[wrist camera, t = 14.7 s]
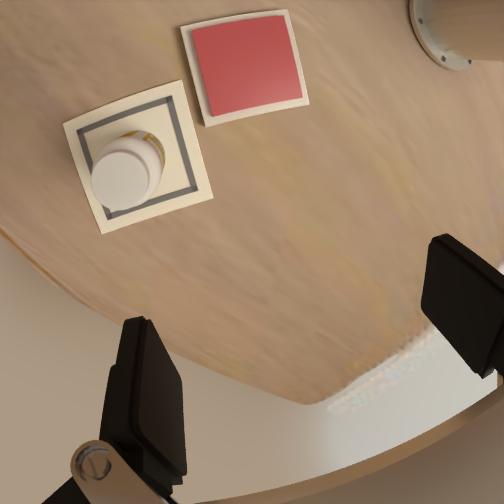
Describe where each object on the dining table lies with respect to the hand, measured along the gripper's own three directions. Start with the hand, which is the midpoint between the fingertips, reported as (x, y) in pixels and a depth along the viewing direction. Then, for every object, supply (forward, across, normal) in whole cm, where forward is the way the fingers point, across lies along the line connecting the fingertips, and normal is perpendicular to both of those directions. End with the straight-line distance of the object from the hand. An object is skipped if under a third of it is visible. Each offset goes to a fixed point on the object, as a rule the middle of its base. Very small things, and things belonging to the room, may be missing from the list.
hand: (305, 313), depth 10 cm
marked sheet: (+23, +8, -3) cm, 24 cm away
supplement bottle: (+23, +8, -3) cm, 24 cm away
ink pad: (+23, -4, -9) cm, 25 cm away
